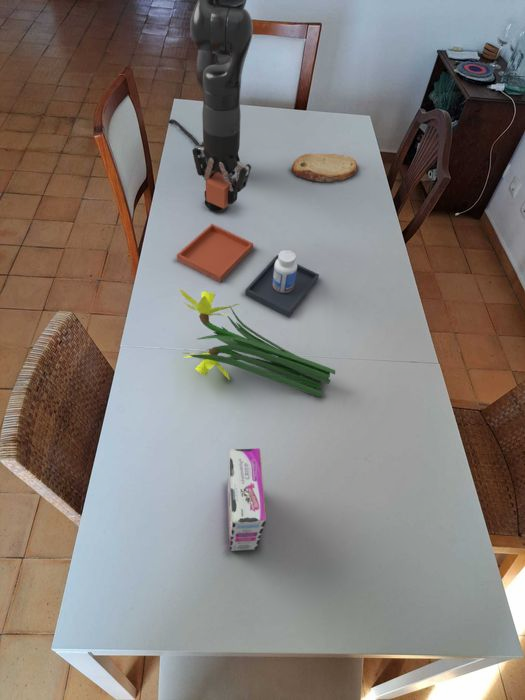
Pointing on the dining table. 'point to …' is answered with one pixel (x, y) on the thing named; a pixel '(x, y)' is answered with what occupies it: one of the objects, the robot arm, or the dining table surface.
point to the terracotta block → (217, 191)
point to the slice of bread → (324, 167)
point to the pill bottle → (285, 272)
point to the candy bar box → (245, 499)
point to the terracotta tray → (215, 252)
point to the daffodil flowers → (255, 353)
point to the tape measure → (213, 206)
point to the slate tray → (276, 300)
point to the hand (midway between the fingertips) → (221, 198)
